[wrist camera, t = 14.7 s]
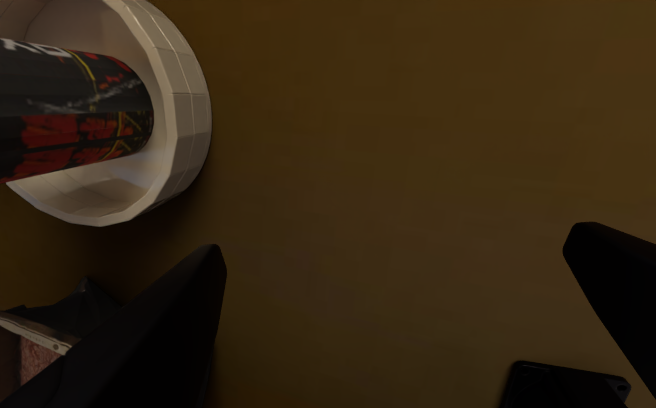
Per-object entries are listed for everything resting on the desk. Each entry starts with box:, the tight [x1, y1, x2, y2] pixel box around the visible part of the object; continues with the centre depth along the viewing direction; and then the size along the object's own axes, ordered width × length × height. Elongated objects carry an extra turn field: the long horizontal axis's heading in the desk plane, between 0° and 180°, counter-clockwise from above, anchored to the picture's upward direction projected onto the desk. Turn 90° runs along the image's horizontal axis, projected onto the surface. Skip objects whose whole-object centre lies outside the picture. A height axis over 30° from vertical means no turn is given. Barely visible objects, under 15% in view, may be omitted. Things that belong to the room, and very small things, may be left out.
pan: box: [0, 0, 212, 227], centre depth 18 cm, size 13×13×4 cm
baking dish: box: [0, 276, 214, 408], centre depth 22 cm, size 14×18×10 cm
